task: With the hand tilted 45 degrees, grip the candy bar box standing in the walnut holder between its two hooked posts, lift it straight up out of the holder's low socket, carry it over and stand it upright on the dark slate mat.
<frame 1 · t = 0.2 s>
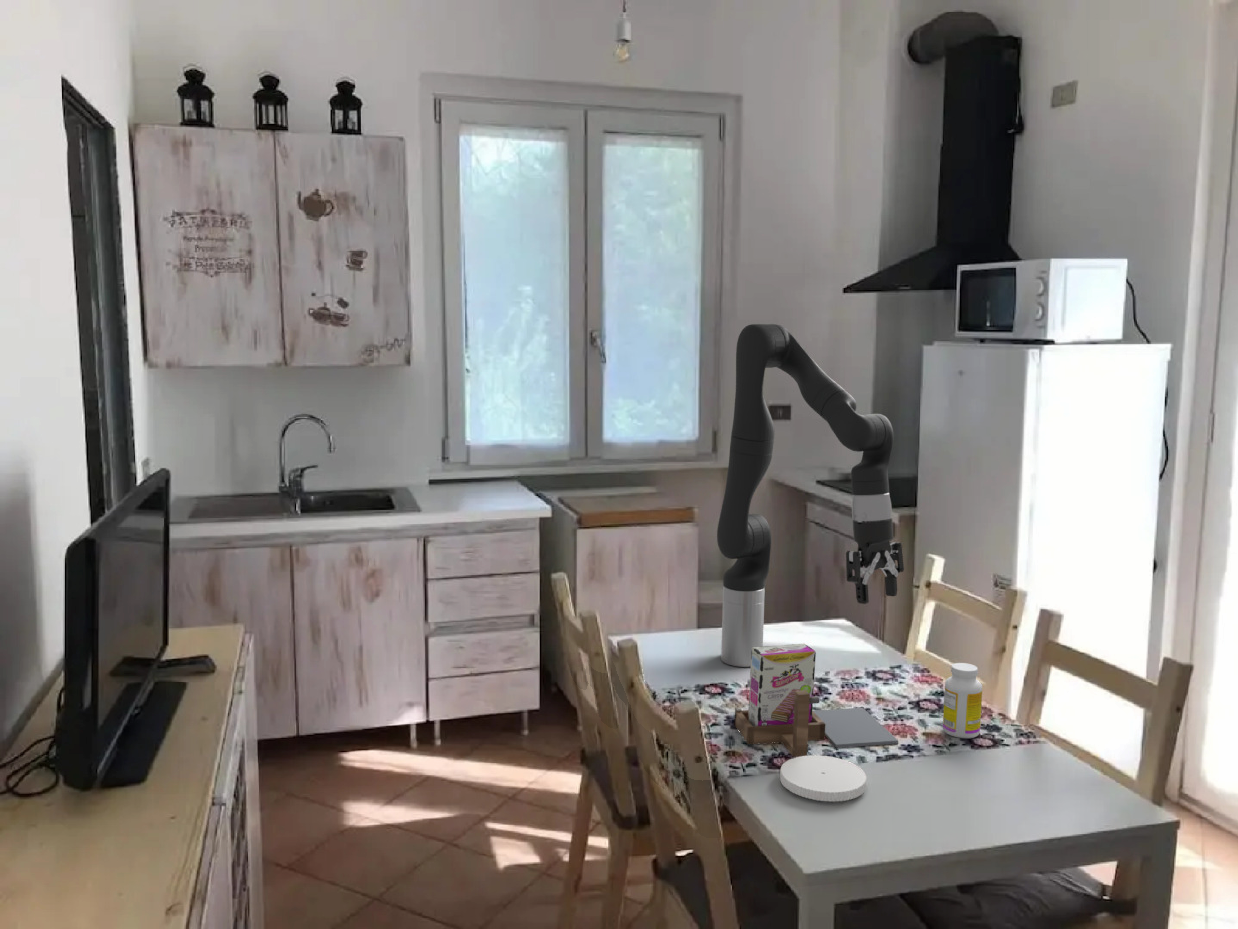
hand: (877, 599, 202), 22 cm above the table, tool pointing down, fingers open, 8 cm apart
walnut holder: (778, 732, 194), on the table
supplement bottle: (960, 733, 195), on the table
slate mat: (849, 728, 196), on the table
candy bar box: (780, 734, 194), resting in walnut holder
plastic lid: (822, 788, 172), on the table
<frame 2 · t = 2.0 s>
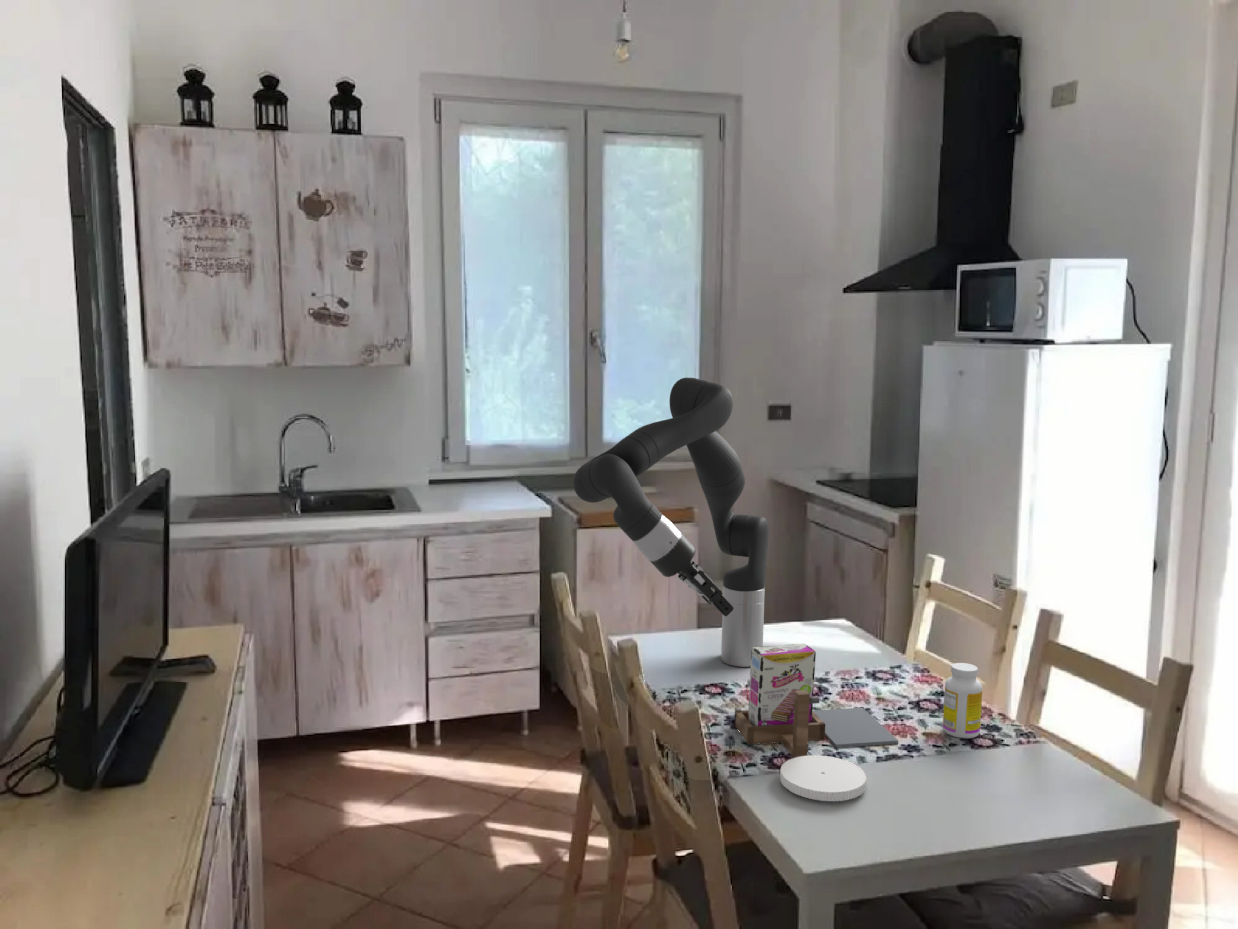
hand: (721, 606, 187), 25 cm above the table, tool tilted 45°, fingers open, 8 cm apart
nothing on the table moved.
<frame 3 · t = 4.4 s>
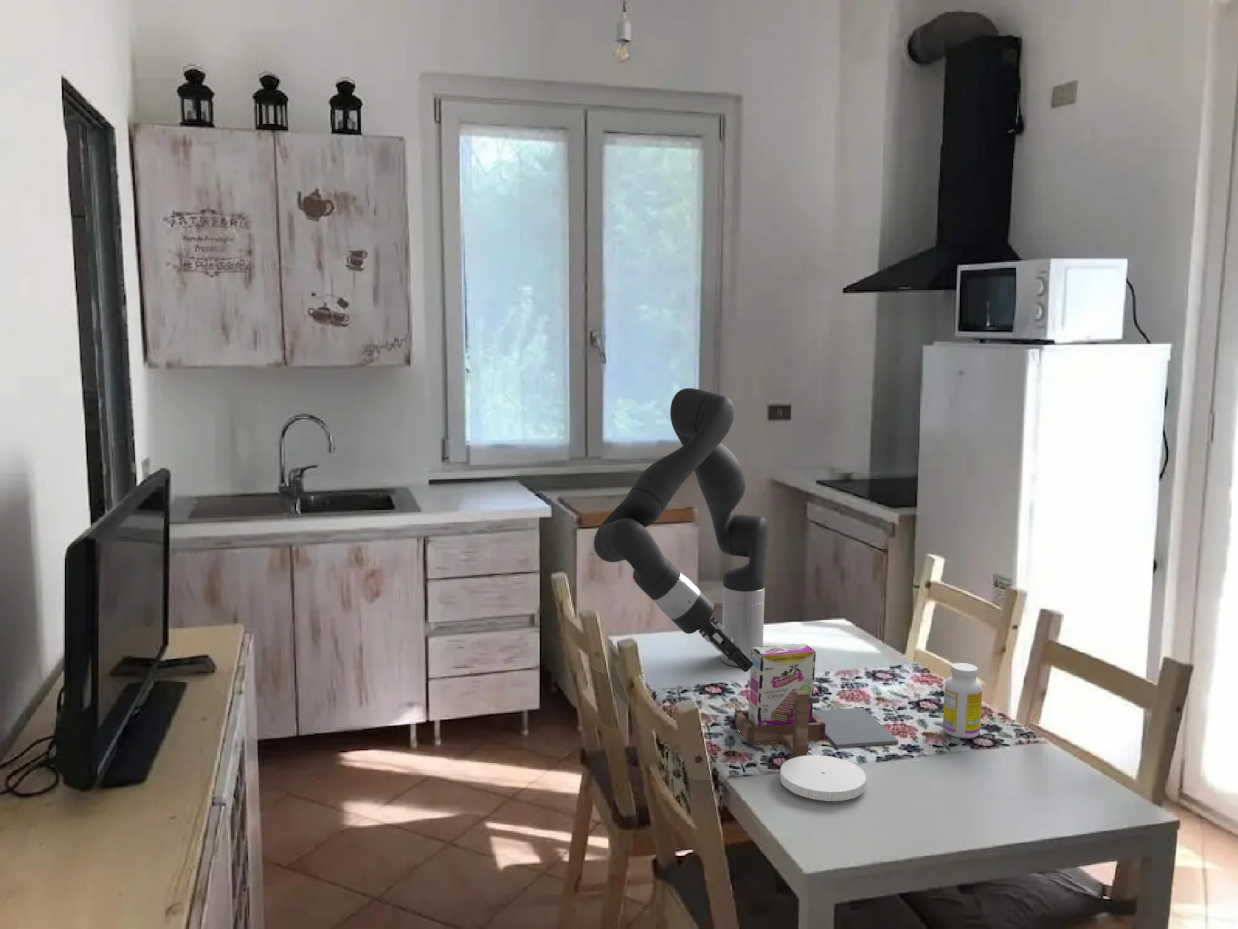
hand: (742, 660, 190), 14 cm above the table, tool tilted 45°, fingers open, 8 cm apart
nothing on the table moved.
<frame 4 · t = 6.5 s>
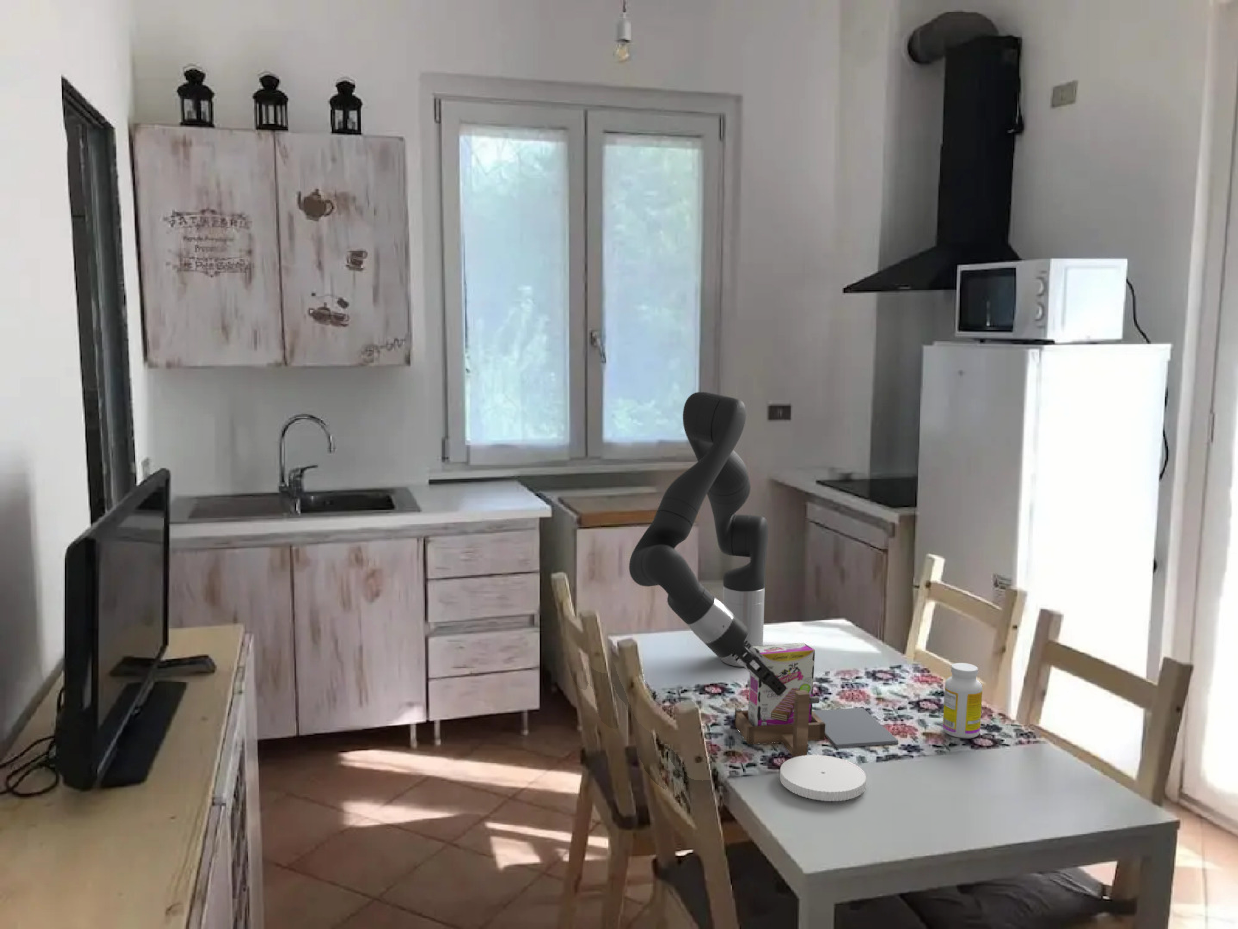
hand: (777, 685, 192), 9 cm above the table, tool tilted 45°, fingers closed on candy bar box, 5 cm apart
candy bar box: (779, 733, 194), resting in walnut holder, touching gripper
everything else where it was.
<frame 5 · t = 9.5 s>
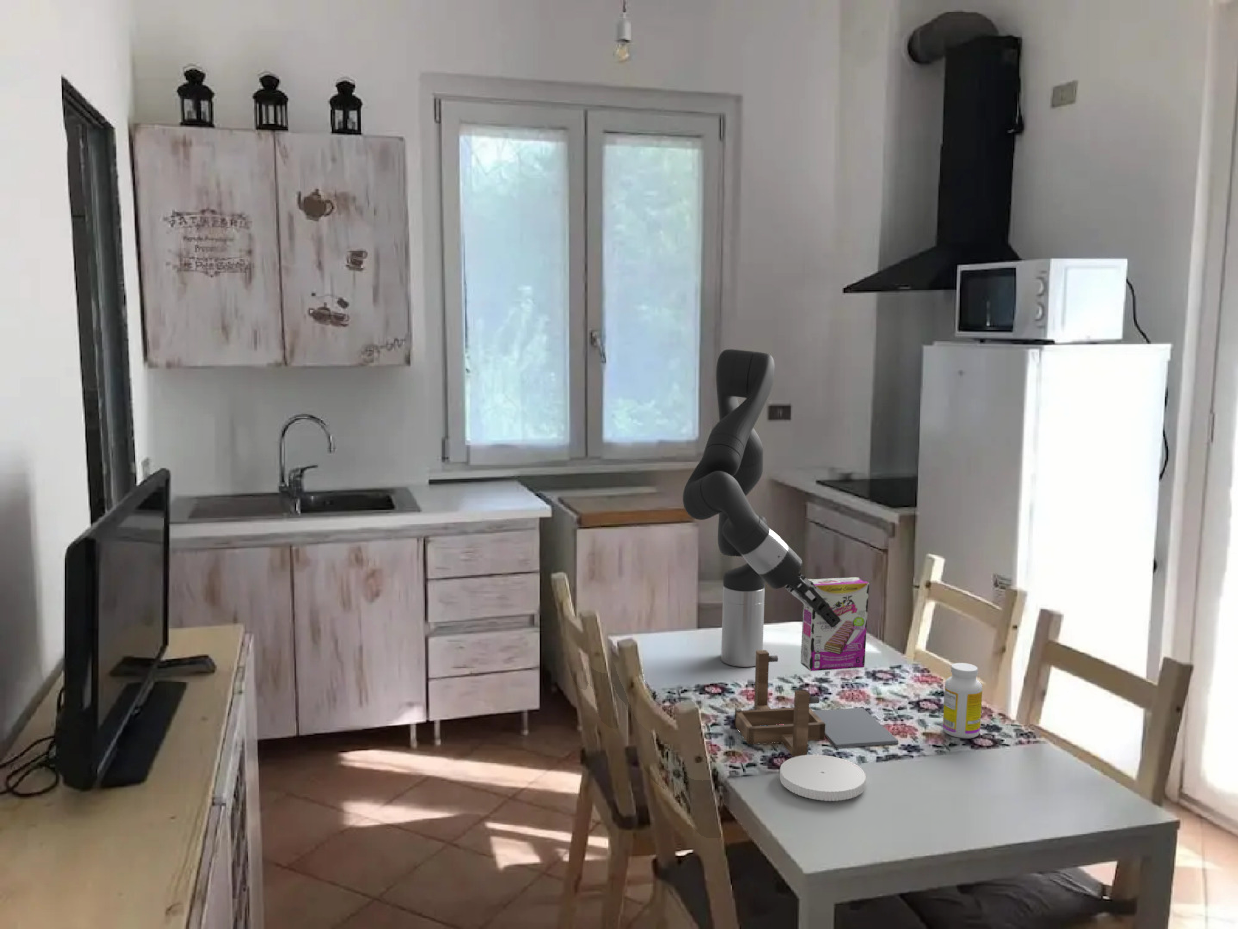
hand: (830, 618, 192), 22 cm above the table, tool tilted 45°, fingers closed on candy bar box, 5 cm apart
candy bar box: (833, 667, 194), point 12 cm above the table, touching gripper
everything else where it was.
when the fingers open (11 cm above the table, at t = 12.4 s): candy bar box drops 1 cm, resting on slate mat.
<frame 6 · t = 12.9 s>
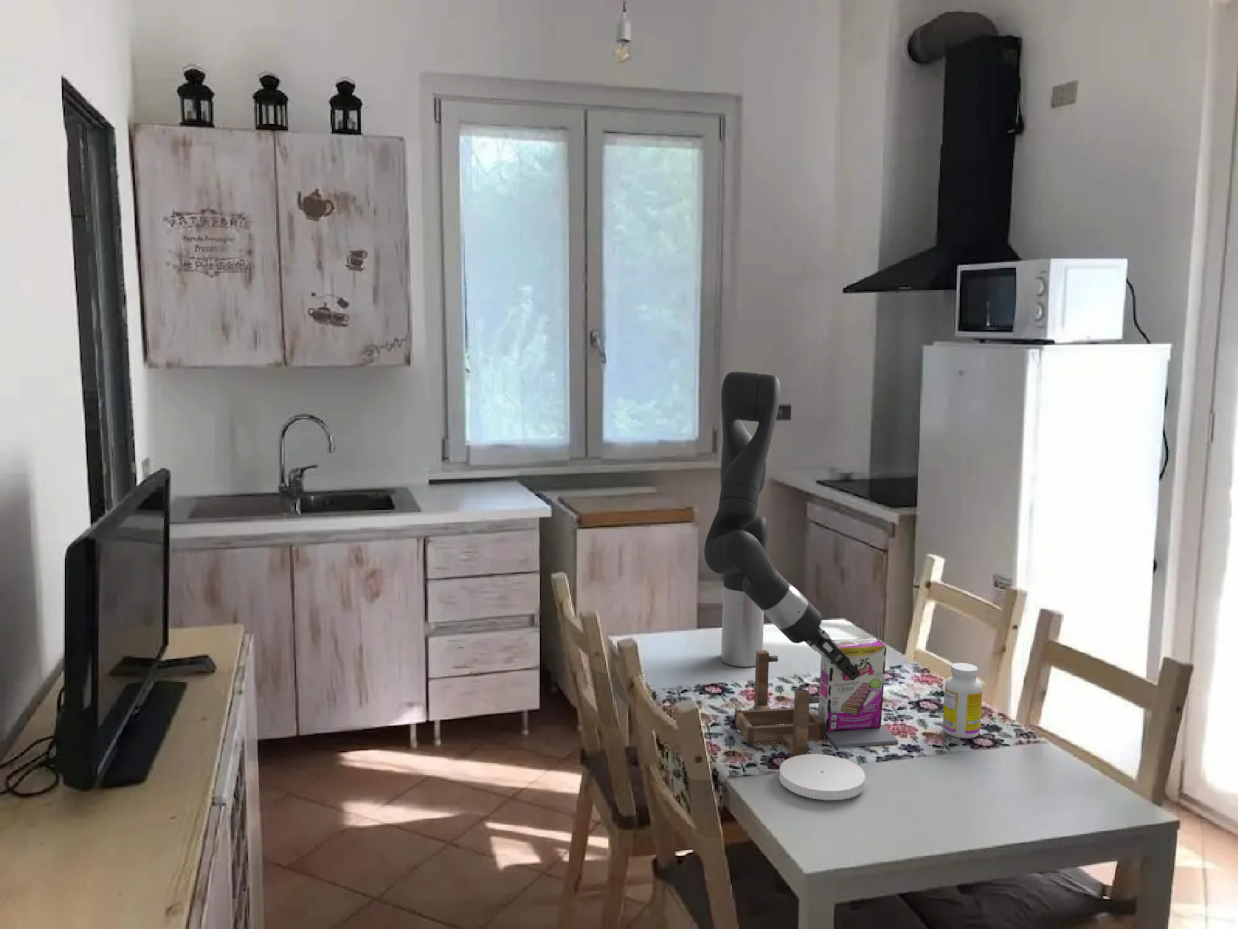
hand: (846, 668, 194), 12 cm above the table, tool tilted 45°, fingers open, 8 cm apart
candy bar box: (849, 727, 196), resting on slate mat
everything else where it was.
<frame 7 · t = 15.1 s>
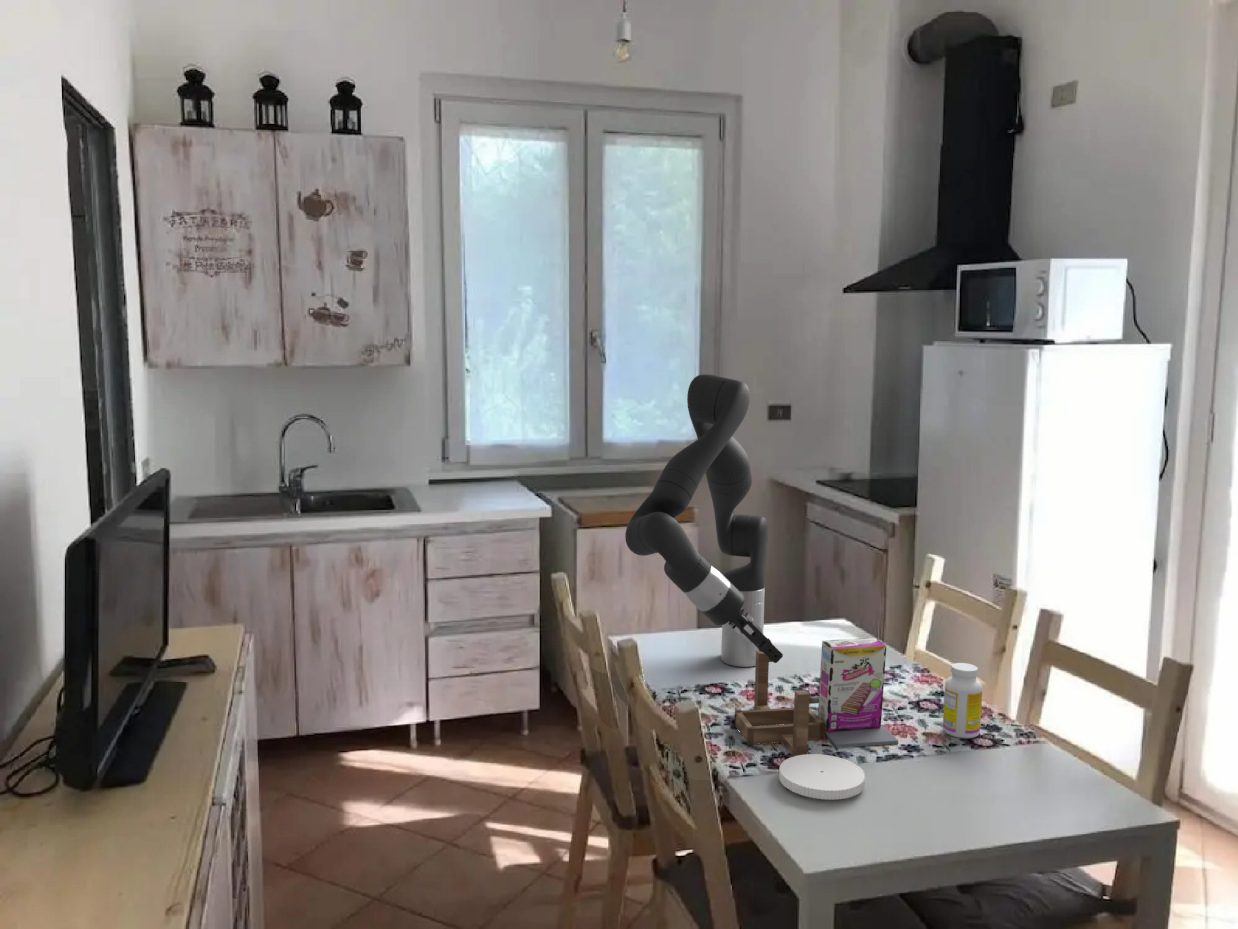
hand: (771, 651, 193), 15 cm above the table, tool tilted 45°, fingers open, 8 cm apart
nothing on the table moved.
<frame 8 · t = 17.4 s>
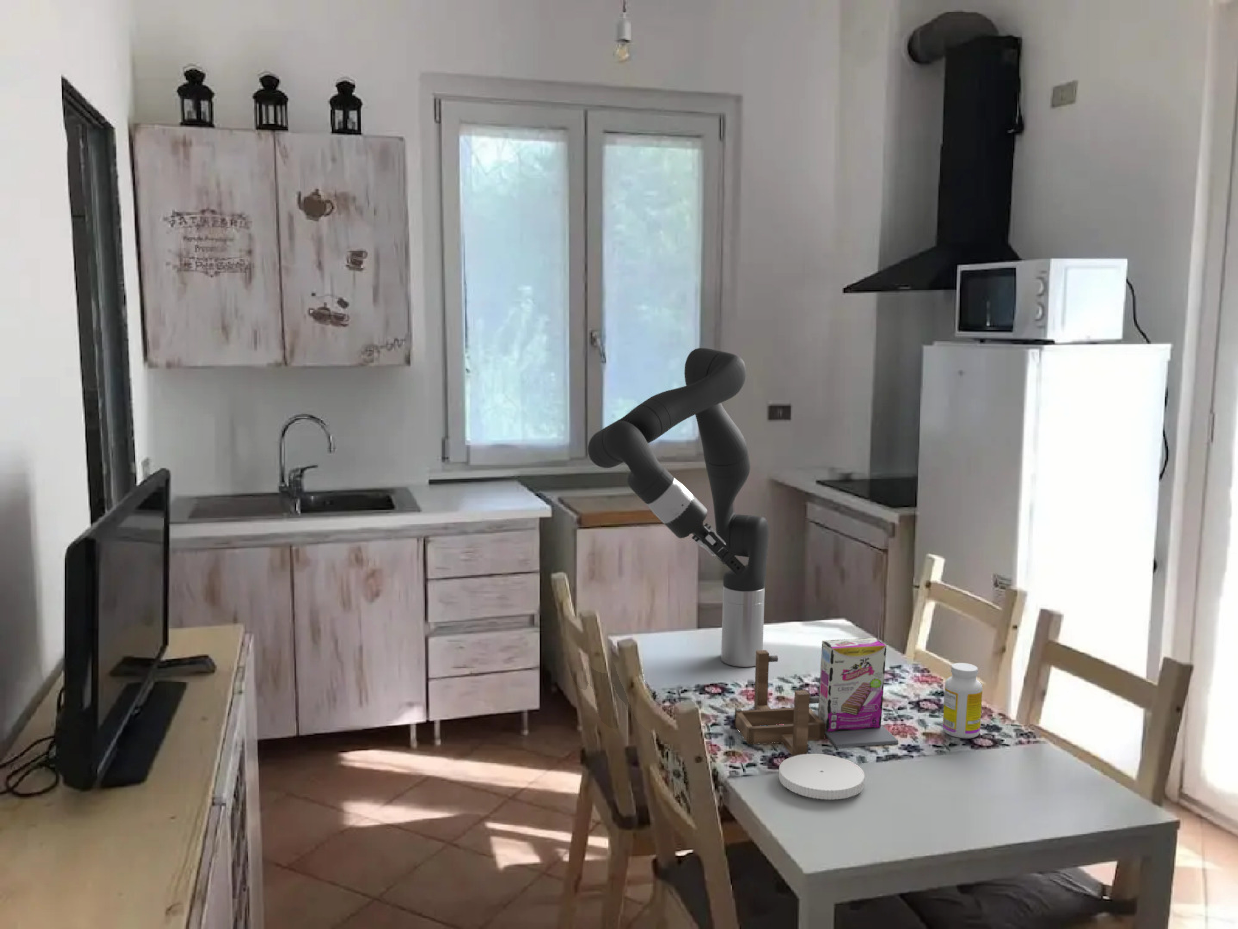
hand: (734, 566, 194), 31 cm above the table, tool tilted 45°, fingers open, 8 cm apart
nothing on the table moved.
at the end: candy bar box inside the target area on the slate mat (0.4 cm from its centre), point 0.4 cm above the slate mat's base; candy bar box tilted 0°; the gripper is holding nothing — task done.
